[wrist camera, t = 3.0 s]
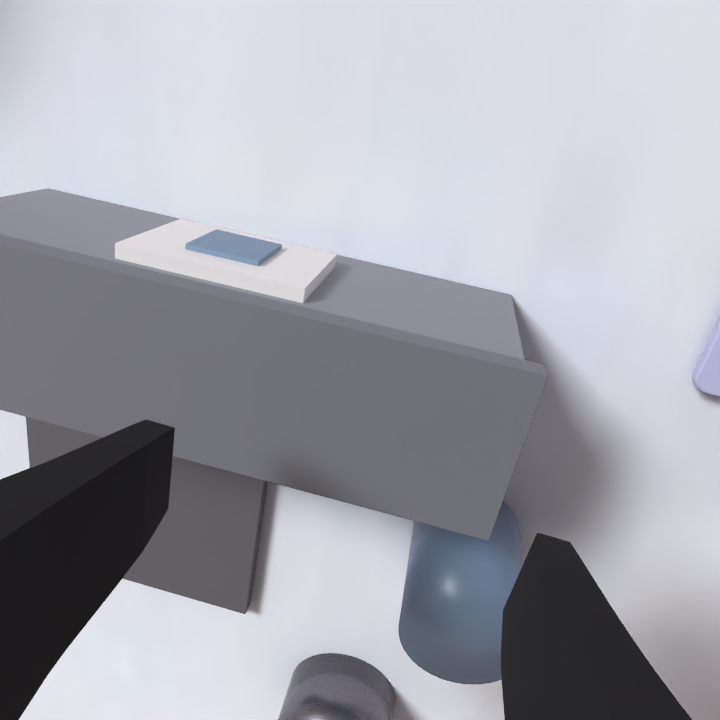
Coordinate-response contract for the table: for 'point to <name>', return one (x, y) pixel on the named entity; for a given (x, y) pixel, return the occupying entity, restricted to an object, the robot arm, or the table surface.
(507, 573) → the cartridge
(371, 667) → the cap
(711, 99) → the table surface
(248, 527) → the mat
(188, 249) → the block
